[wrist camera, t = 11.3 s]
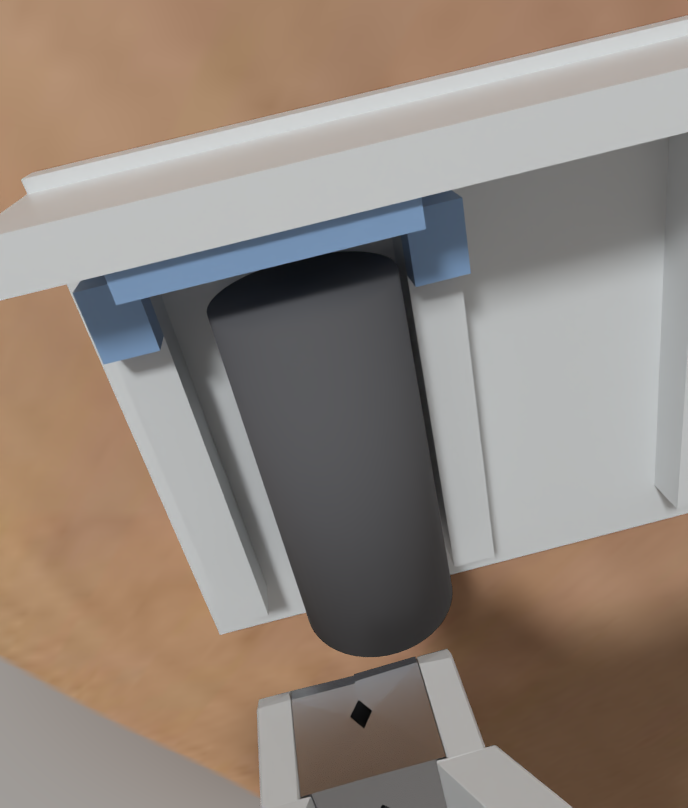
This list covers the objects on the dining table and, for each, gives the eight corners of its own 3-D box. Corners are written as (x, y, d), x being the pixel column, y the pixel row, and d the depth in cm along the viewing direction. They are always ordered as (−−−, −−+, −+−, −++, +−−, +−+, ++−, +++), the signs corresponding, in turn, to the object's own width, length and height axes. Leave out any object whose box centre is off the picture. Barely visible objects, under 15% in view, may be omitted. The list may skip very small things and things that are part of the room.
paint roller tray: (694, 492, 22) (804, 599, 17) (220, 615, 21) (216, 755, 17) (734, 3, 15) (931, -12, 11) (31, 172, 14) (-53, 225, 10)
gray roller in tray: (415, 526, 20) (479, 618, 17) (291, 574, 19) (331, 681, 16) (360, 238, 16) (431, 284, 12) (195, 288, 15) (223, 352, 11)
